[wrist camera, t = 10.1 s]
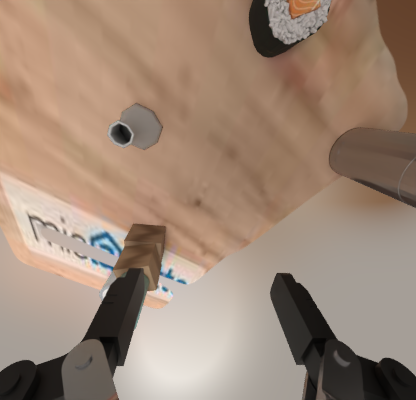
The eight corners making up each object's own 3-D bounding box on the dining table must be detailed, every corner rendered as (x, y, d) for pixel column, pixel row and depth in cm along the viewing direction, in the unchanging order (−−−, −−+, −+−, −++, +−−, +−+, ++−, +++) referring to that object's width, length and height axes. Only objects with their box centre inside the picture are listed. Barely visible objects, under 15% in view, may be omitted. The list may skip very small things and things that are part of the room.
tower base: (165, 226, 42) (161, 243, 37) (163, 250, 45) (159, 269, 40) (133, 223, 41) (124, 240, 36) (134, 248, 44) (125, 267, 39)
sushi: (297, -30, 25) (337, -85, 18) (306, 43, 29) (342, 21, 22) (241, -2, 26) (258, -43, 19) (256, 65, 30) (276, 52, 23)
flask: (145, 156, 35) (129, 173, 26) (111, 128, 32) (79, 135, 23) (170, 126, 33) (161, 133, 24) (135, 94, 30) (110, 88, 21)
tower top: (155, 242, 36) (148, 266, 31) (161, 265, 39) (156, 290, 34) (124, 246, 36) (112, 270, 31) (133, 268, 39) (123, 294, 34)
